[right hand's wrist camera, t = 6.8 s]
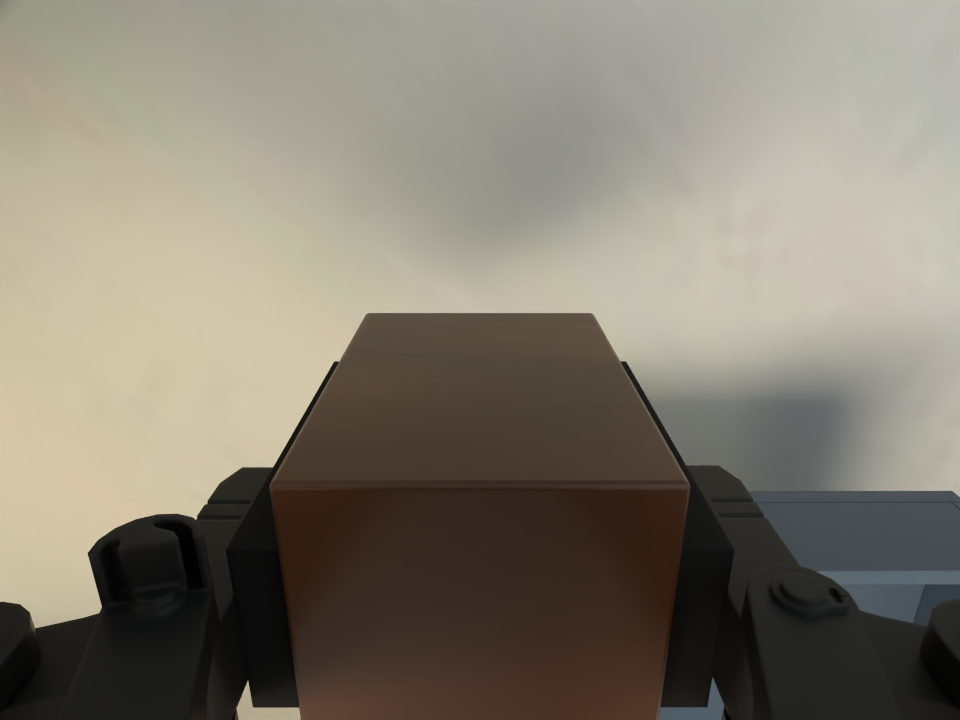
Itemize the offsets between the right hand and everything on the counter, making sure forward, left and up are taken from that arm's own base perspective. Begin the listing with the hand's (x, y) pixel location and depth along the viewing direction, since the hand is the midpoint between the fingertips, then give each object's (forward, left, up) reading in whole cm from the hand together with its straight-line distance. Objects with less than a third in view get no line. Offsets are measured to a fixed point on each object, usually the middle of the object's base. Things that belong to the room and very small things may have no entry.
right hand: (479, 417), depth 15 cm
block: (0, 0, 0) cm, 0 cm away
